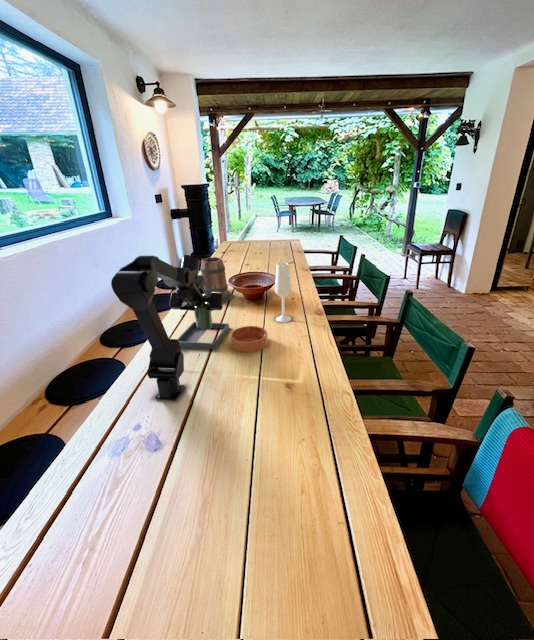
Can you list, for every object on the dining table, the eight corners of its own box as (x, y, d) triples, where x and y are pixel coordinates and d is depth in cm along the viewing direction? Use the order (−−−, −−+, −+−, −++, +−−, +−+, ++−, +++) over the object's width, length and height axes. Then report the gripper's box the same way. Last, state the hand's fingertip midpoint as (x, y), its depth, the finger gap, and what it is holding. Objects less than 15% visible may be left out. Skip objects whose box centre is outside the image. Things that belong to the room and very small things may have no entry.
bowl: (263, 355, 111) (262, 343, 109) (226, 352, 113) (225, 341, 112) (270, 337, 123) (270, 326, 121) (237, 335, 125) (236, 325, 123)
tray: (215, 350, 115) (214, 344, 114) (175, 347, 118) (174, 341, 117) (229, 329, 131) (228, 323, 129) (194, 327, 133) (193, 321, 132)
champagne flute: (293, 317, 139) (293, 262, 129) (288, 323, 134) (287, 266, 124) (279, 314, 142) (278, 261, 132) (273, 320, 136) (271, 265, 126)
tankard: (231, 302, 157) (228, 262, 149) (197, 304, 156) (191, 264, 148) (233, 287, 178) (230, 251, 170) (203, 289, 178) (198, 253, 169)
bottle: (214, 328, 120) (210, 295, 115) (197, 331, 119) (193, 298, 113) (211, 322, 125) (207, 290, 120) (195, 325, 124) (191, 293, 118)
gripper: (219, 270, 108) (230, 290, 122) (167, 270, 110) (183, 290, 125) (215, 300, 104) (227, 317, 118) (161, 299, 106) (178, 316, 121)
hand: (203, 309), depth 121 cm, fingers closed on bottle, 6 cm apart
